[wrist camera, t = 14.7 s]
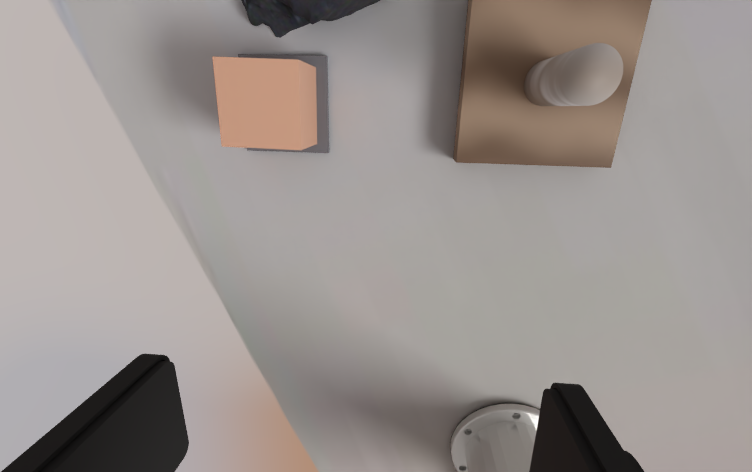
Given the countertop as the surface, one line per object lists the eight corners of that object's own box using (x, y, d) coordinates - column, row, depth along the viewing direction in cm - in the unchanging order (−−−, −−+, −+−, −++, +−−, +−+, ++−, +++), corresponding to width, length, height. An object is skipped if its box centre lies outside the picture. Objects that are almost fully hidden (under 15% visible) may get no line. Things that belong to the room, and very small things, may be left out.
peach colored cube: (316, 67, 29) (298, 59, 24) (317, 143, 31) (301, 150, 26) (243, 64, 29) (212, 56, 25) (249, 140, 31) (221, 146, 27)
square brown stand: (598, 163, 30) (673, 185, 22) (453, 159, 31) (470, 178, 22) (636, -4, 26) (747, -57, 18) (468, -4, 27) (497, -56, 18)
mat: (329, 152, 32) (328, 152, 31) (249, 149, 32) (247, 150, 32) (327, 56, 29) (326, 55, 29) (240, 55, 29) (238, 54, 29)
